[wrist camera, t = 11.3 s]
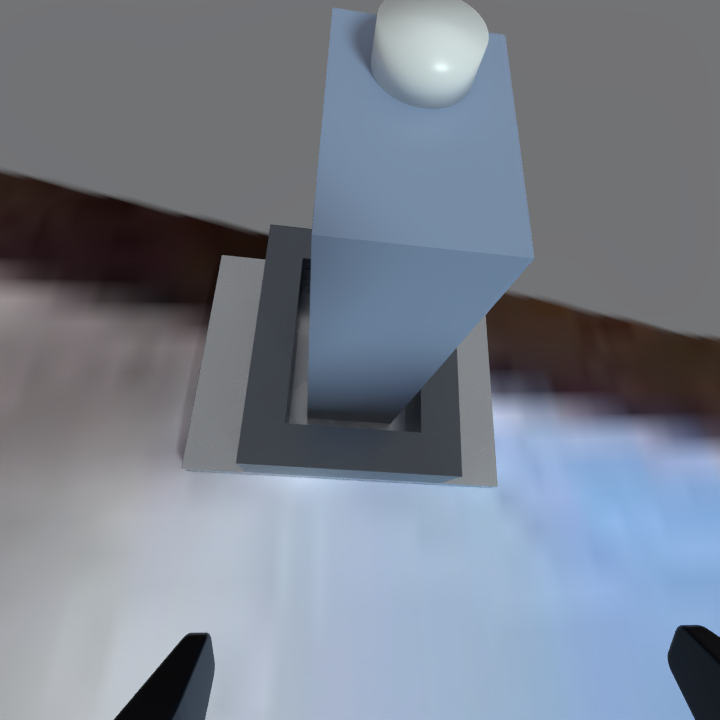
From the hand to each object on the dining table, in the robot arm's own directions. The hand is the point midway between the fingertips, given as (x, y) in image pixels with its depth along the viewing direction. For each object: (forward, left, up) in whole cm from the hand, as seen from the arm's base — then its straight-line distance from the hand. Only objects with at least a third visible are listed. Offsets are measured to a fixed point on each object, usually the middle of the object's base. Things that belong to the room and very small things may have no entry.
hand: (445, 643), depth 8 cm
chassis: (+4, +8, -9) cm, 13 cm away
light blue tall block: (+4, +8, -9) cm, 12 cm away
